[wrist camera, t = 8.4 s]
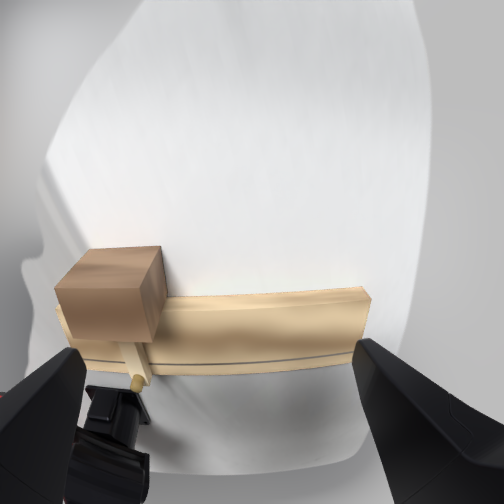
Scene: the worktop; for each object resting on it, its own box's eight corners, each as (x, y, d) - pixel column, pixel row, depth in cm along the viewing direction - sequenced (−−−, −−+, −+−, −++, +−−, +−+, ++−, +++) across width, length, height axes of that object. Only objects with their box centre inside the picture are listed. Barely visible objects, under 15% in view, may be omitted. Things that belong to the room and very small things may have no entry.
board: (348, 347, 27) (355, 362, 25) (87, 355, 25) (80, 368, 23) (362, 286, 24) (371, 299, 22) (64, 296, 22) (55, 309, 20)
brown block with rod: (180, 356, 25) (172, 407, 20) (120, 354, 25) (104, 401, 19) (160, 245, 21) (139, 287, 15) (89, 249, 20) (53, 288, 15)
